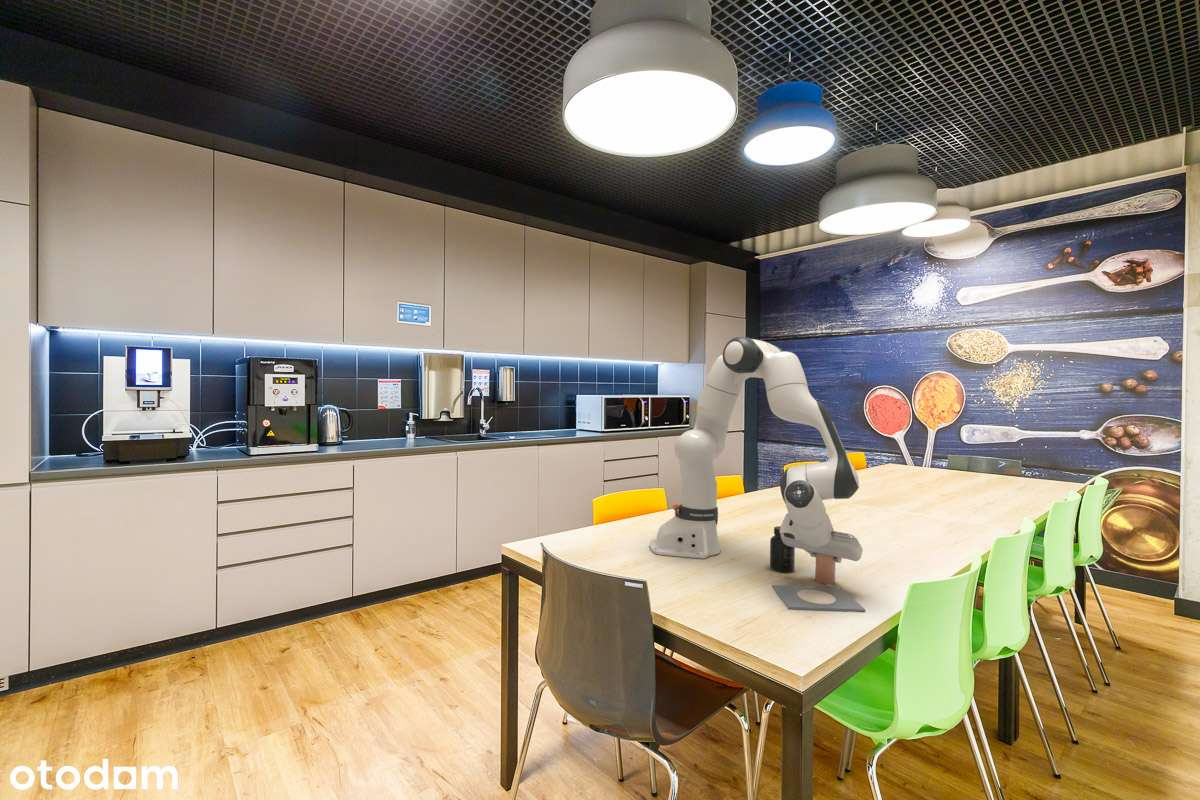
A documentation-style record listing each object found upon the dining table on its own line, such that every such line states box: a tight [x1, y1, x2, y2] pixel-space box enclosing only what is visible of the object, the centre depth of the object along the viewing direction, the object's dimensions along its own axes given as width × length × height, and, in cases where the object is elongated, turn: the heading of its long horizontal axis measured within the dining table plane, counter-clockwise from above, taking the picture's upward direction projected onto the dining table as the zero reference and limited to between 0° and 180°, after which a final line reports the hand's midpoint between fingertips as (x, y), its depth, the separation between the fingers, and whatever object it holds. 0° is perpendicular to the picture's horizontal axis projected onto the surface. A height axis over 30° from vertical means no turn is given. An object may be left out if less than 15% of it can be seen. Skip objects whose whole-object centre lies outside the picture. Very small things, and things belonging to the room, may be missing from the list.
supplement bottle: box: [769, 525, 796, 573], centre depth 159 cm, size 7×7×12 cm
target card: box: [771, 584, 866, 612], centre depth 137 cm, size 18×14×1 cm
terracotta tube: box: [814, 552, 836, 586], centre depth 150 cm, size 5×5×12 cm
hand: (826, 557), depth 150 cm, fingers closed on terracotta tube, 5 cm apart
